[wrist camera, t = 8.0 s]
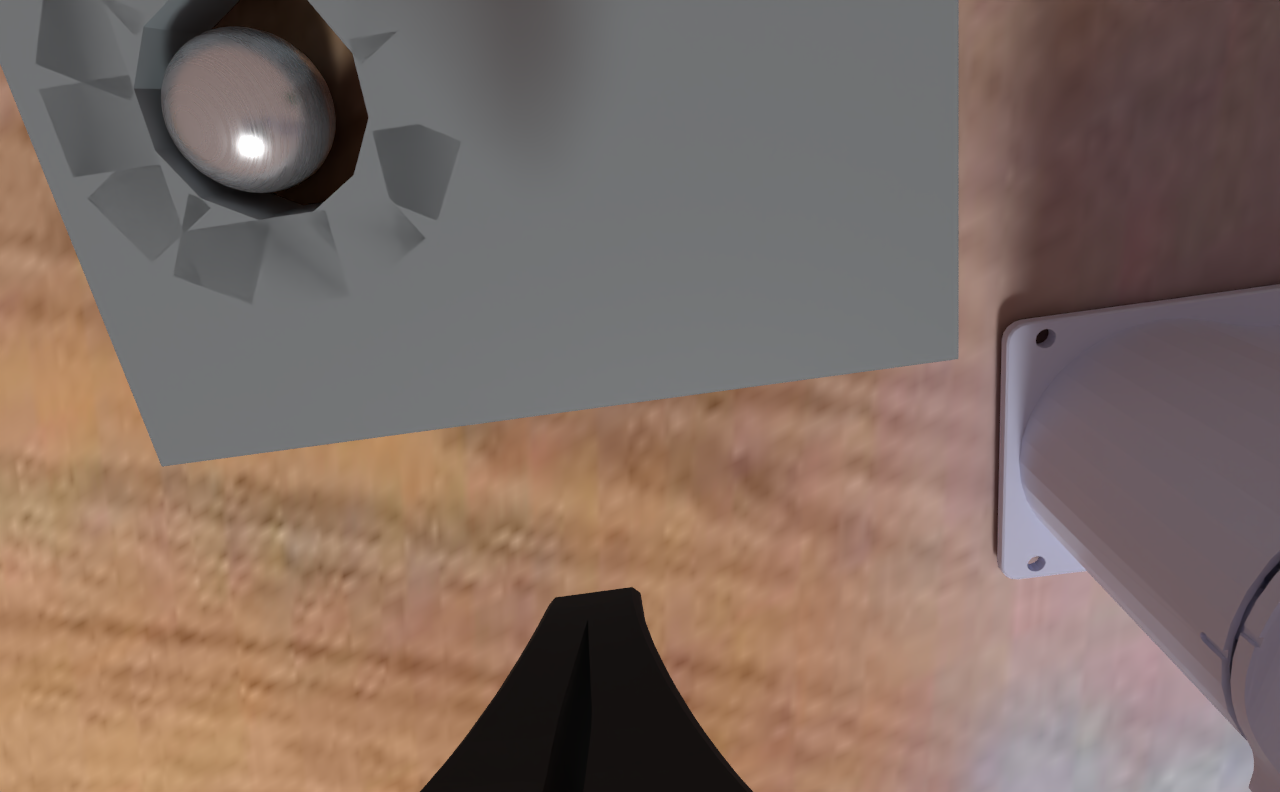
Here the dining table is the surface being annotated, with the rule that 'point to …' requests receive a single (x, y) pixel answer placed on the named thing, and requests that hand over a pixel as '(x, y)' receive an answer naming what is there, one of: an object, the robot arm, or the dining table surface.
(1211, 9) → the dining table surface
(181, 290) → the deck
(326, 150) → the ball
